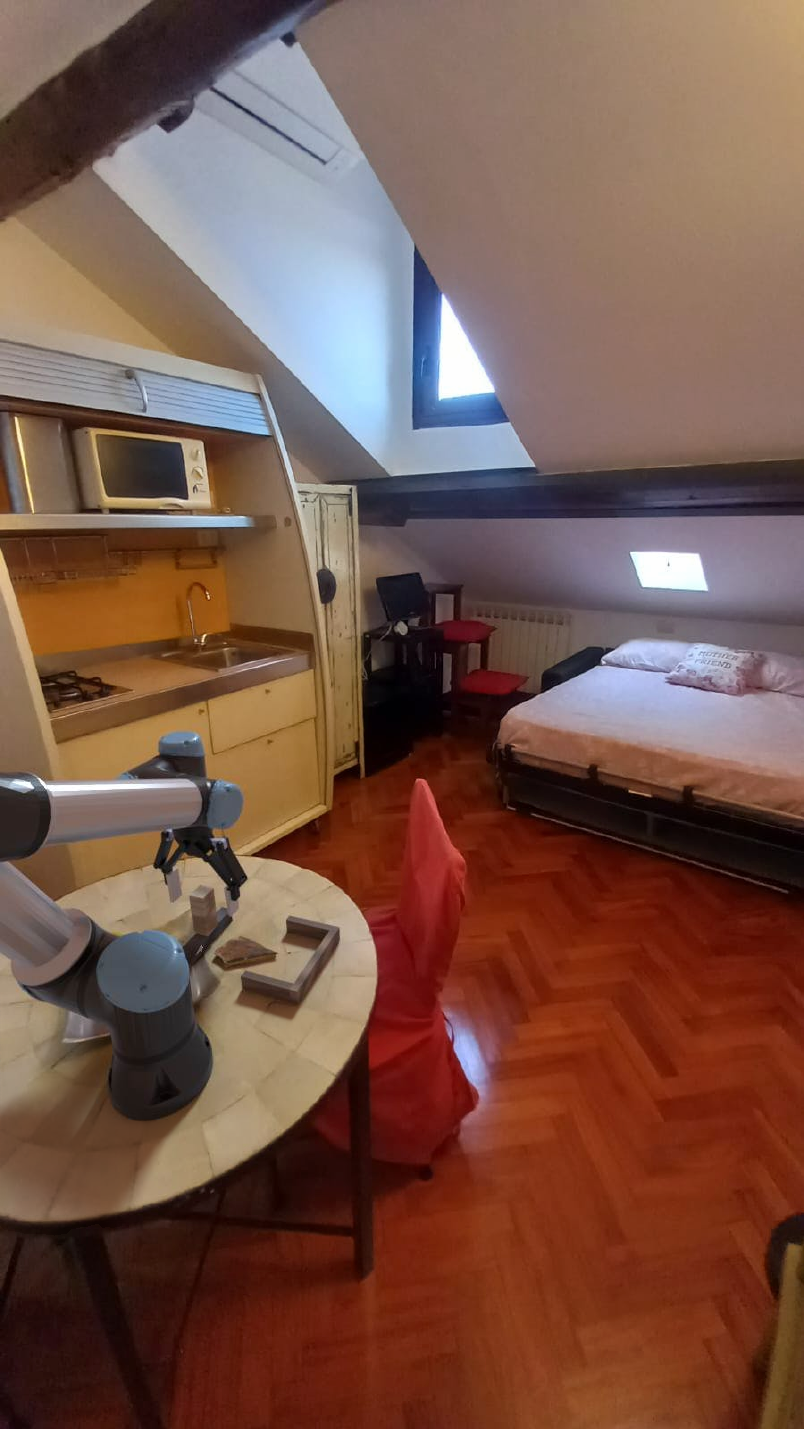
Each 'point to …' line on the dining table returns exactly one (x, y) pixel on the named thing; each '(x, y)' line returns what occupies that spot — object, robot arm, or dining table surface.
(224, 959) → the shard
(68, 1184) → the dining table surface
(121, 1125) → the dining table surface
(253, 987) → the walnut bay
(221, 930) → the scraper
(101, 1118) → the dining table surface
